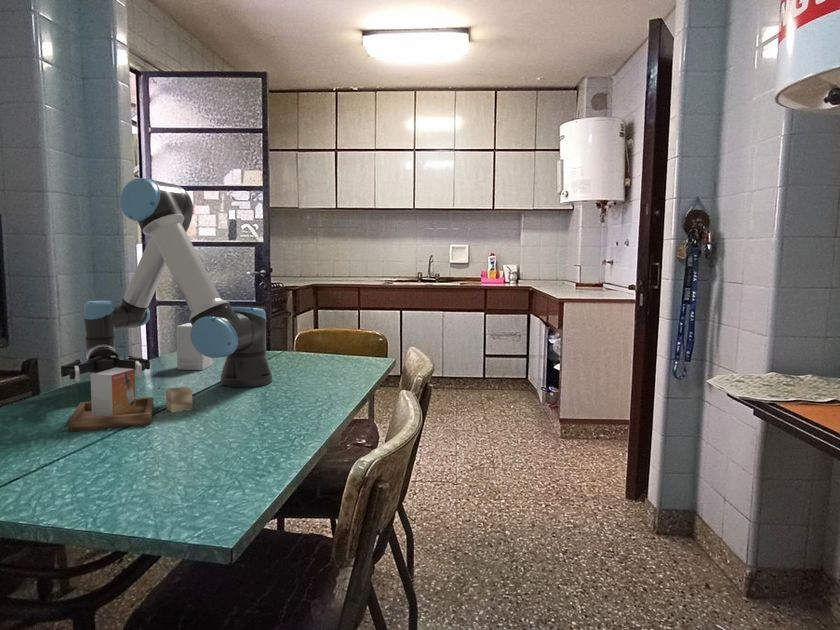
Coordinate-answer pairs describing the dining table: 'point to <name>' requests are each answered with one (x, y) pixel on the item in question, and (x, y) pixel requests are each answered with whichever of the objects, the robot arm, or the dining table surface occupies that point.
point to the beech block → (179, 399)
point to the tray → (111, 417)
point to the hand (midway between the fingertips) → (109, 373)
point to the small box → (113, 392)
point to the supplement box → (189, 351)
